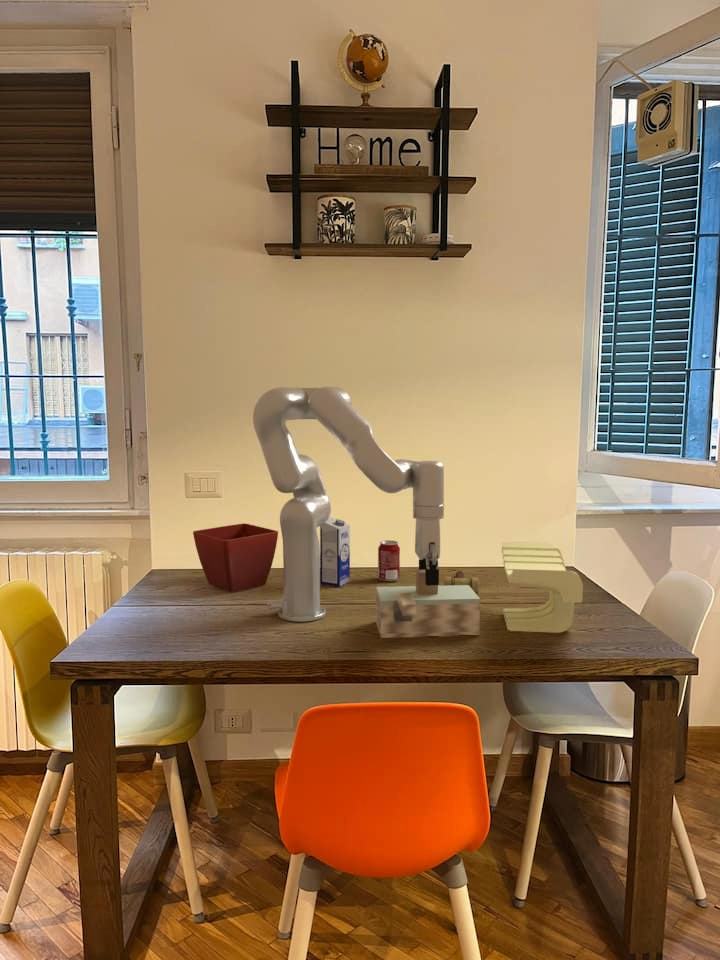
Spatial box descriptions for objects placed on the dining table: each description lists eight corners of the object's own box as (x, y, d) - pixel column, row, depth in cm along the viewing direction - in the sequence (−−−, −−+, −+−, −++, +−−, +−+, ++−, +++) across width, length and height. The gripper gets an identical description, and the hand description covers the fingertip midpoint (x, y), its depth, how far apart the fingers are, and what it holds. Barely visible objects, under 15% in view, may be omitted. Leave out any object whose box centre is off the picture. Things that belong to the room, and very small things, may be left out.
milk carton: (331, 579, 222) (330, 516, 220) (350, 581, 219) (350, 518, 217) (319, 584, 216) (319, 520, 214) (339, 587, 213) (339, 522, 211)
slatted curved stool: (580, 645, 165) (583, 571, 163) (511, 642, 167) (513, 569, 165) (559, 606, 195) (561, 543, 193) (500, 604, 197) (502, 541, 194)
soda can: (400, 582, 219) (400, 544, 217) (378, 582, 219) (378, 544, 217) (398, 576, 225) (399, 539, 224) (377, 576, 225) (377, 539, 224)
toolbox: (382, 642, 167) (382, 604, 166) (376, 621, 182) (376, 586, 181) (482, 639, 169) (483, 602, 168) (467, 619, 184) (468, 585, 183)
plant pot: (192, 584, 216) (191, 530, 214) (245, 573, 229) (244, 522, 227) (226, 598, 202) (224, 540, 200) (280, 585, 215) (280, 531, 213)
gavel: (444, 565, 229) (475, 566, 228) (443, 579, 229) (475, 580, 228) (444, 578, 208) (478, 579, 207) (444, 593, 208) (478, 594, 207)
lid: (381, 605, 169) (381, 578, 168) (376, 591, 181) (376, 565, 180) (480, 603, 171) (480, 576, 170) (468, 589, 183) (469, 564, 182)
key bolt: (402, 615, 157) (403, 604, 157) (397, 603, 166) (397, 593, 166) (416, 615, 157) (416, 604, 157) (410, 603, 166) (410, 592, 166)
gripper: (408, 506, 181) (408, 571, 183) (418, 518, 164) (419, 589, 166) (436, 505, 182) (437, 570, 184) (450, 517, 165) (450, 588, 167)
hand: (428, 579), depth 175 cm, fingers open, 9 cm apart
